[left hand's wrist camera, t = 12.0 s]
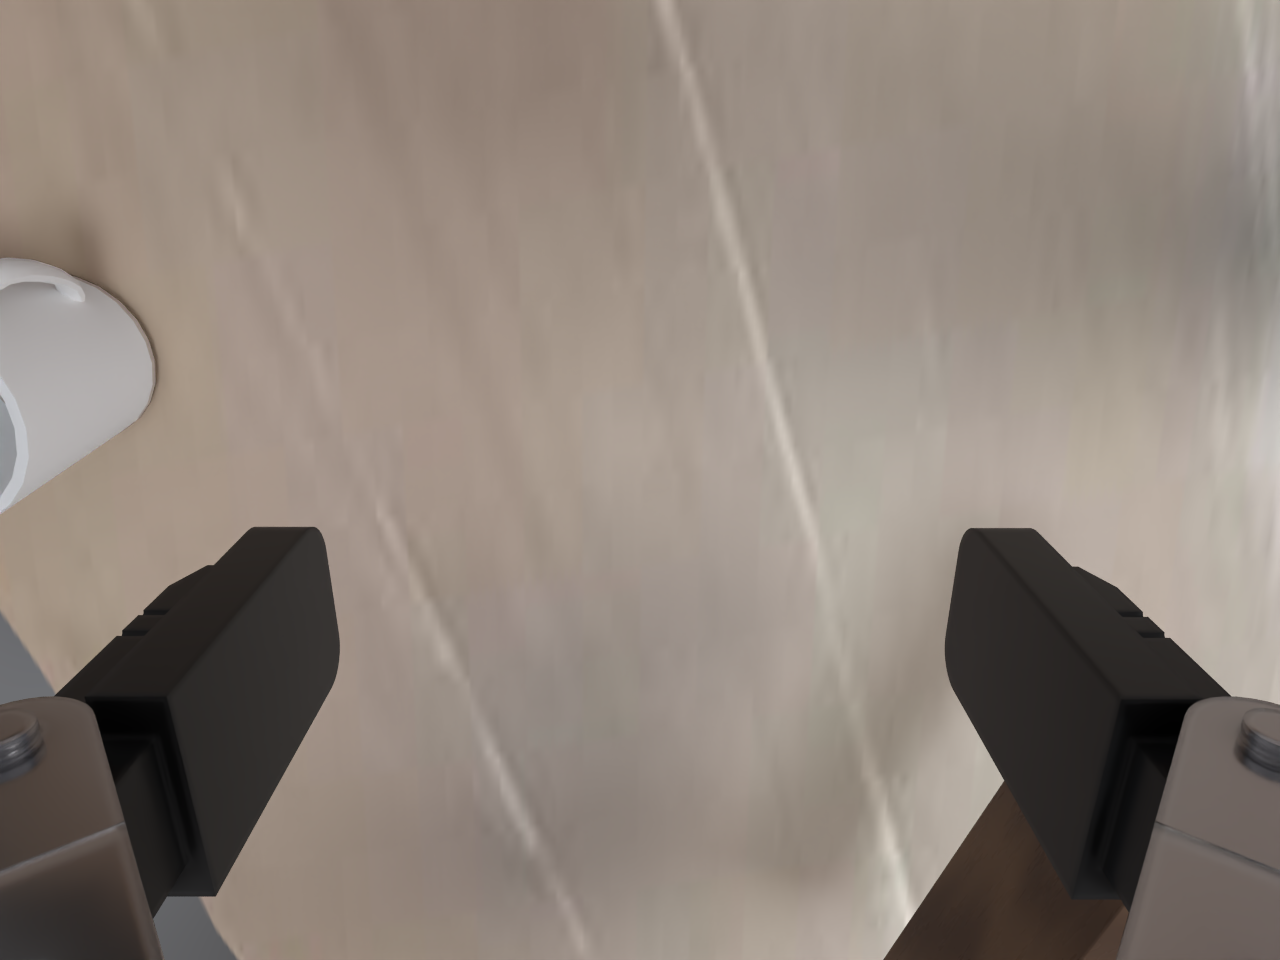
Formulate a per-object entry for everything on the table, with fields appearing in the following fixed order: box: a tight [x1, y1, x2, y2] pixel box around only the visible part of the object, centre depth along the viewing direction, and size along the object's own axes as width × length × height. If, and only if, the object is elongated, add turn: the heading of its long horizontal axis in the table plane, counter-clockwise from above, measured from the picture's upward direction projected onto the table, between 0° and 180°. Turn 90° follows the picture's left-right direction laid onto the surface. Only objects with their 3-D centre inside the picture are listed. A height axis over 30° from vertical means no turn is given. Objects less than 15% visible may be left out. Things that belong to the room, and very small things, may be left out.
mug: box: [0, 258, 156, 514], centre depth 37 cm, size 11×9×10 cm
